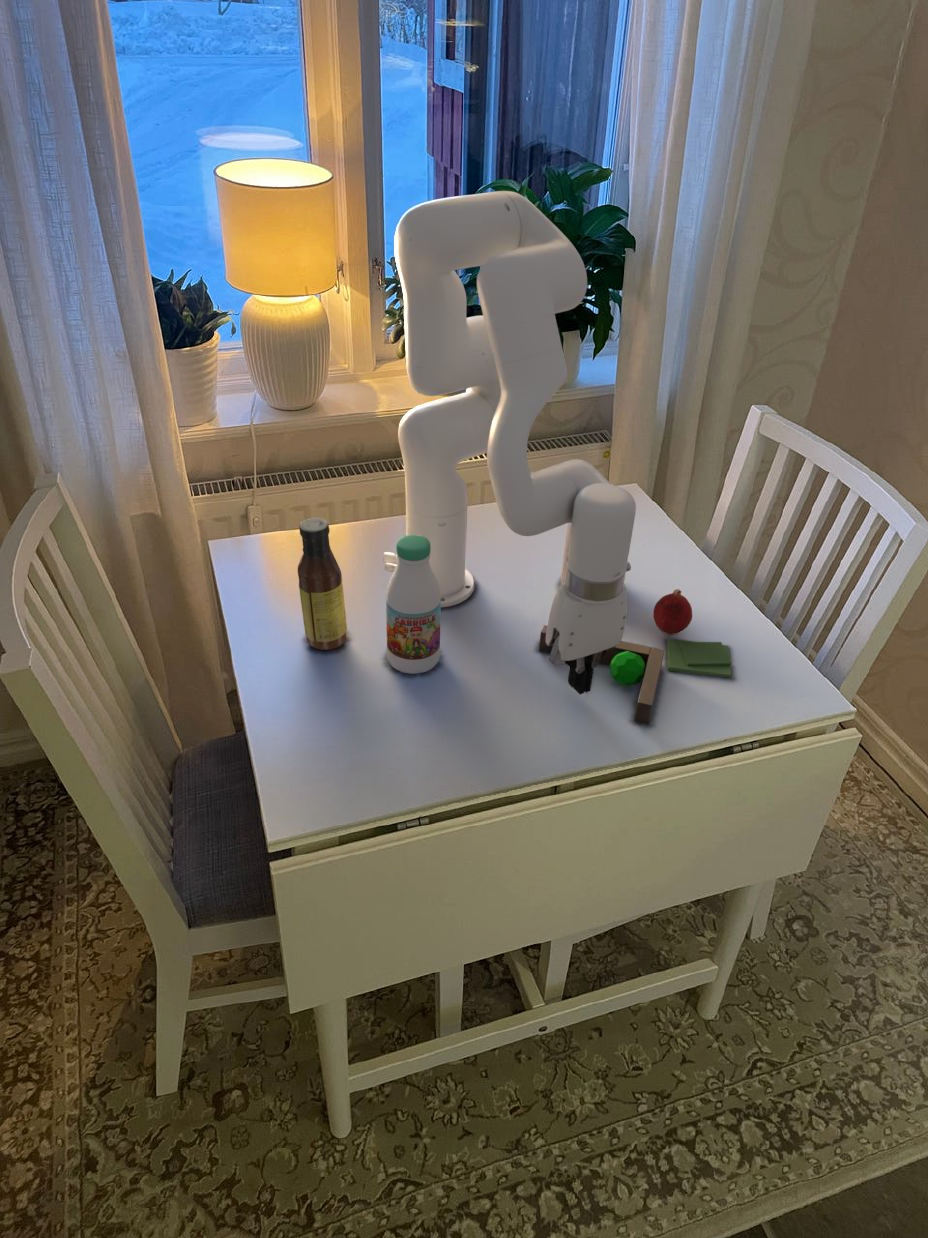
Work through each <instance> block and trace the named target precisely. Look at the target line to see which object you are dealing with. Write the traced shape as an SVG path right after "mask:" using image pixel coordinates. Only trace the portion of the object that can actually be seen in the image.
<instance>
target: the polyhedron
mask: <svg viewBox="0 0 928 1238" xmlns="http://www.w3.org/2000/svg"><path fill="white" fill-rule="evenodd" d="M609 667H610V668H609V673H610V675H611V676H612V679H613V681H615V683H618V684H620V685H622V686H625V687H628V688H629V687H632V686H636V685H637V684H639V683H641V682H642V681H643V678H644V674H645V662H644V661H643V659H642V658H641V656H639V655H637V654H634V653H632V652H629V651H625V652H622V653H619V654H617V655H616V656H615V657H614V658H613V660H612V661H611V665H610V666H609Z"/></svg>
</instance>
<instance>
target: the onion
mask: <svg viewBox="0 0 928 1238" xmlns="http://www.w3.org/2000/svg"><path fill="white" fill-rule="evenodd" d="M652 614H653V615H652V619H653V621H654V623H655V625H656V627H657V628H658V629H659V630H660V631H661V632H663V633H664V634H666V635H677V634H679V633H681V632H683V631H684V630H686V629H687V628H688V627H689V626H690V624H691V622H692V619H693V607H692V604H691V603H690V602H689V600H688V598H686V597H685V595H682V590H681V589H680V588H677V589H674V590H673V592H672V593H668V594H666V595H663V596H662V597H661V598H660V599H659V600H657V602H656V603H655V605H654V607H653V613H652Z"/></svg>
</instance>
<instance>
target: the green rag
mask: <svg viewBox="0 0 928 1238" xmlns="http://www.w3.org/2000/svg"><path fill="white" fill-rule="evenodd" d="M666 644H667V671H670V672H678V673H679V672H680V673H687V674H694V675H703V676H711V677H718V678H726V679H731V678H732V668H731V665H732V663H731V660H730V650H729V645H726V644H723V642H721V641H694V640H686V639H677V638H667V643H666Z"/></svg>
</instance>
